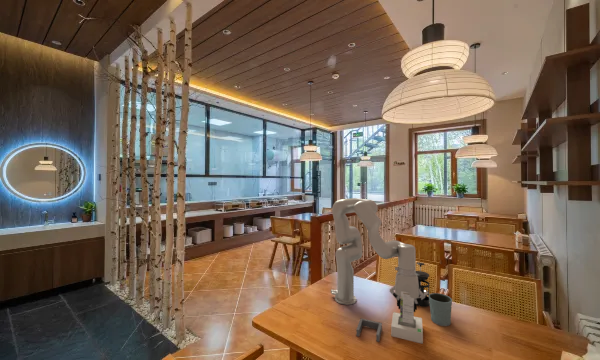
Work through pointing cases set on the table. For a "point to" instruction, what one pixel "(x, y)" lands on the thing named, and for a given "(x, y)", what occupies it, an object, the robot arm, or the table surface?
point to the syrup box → (406, 308)
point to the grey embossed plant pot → (440, 308)
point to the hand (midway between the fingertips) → (406, 308)
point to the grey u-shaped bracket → (371, 325)
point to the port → (407, 329)
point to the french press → (423, 286)
